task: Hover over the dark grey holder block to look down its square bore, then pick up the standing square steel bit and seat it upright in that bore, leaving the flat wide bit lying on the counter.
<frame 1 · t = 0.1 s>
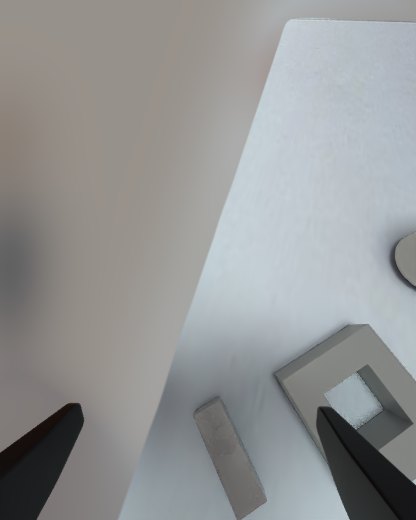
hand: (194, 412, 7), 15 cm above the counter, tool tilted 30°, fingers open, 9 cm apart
bore block: (345, 396, 19), on the counter
flat bit: (227, 444, 19), on the counter
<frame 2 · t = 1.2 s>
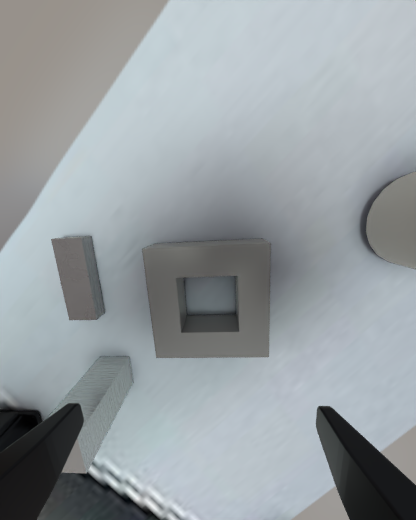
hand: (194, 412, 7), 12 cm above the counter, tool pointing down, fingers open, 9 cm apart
can: (402, 219, 17), on the counter
bore block: (210, 291, 19), on the counter
square bit: (116, 369, 22), on the counter
flat bit: (87, 275, 20), on the counter
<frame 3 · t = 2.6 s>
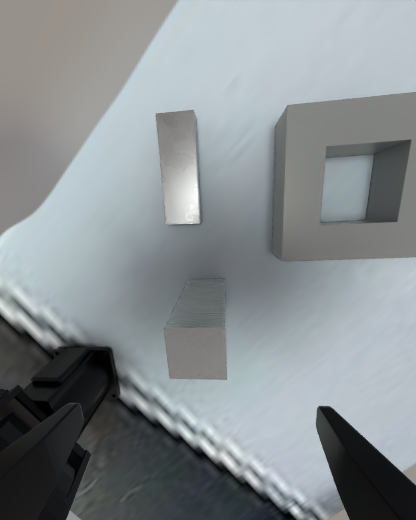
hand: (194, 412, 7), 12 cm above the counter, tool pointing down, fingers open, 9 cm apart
bore block: (336, 190, 16), on the counter
square bit: (207, 295, 19), on the counter
flat bit: (183, 175, 17), on the counter
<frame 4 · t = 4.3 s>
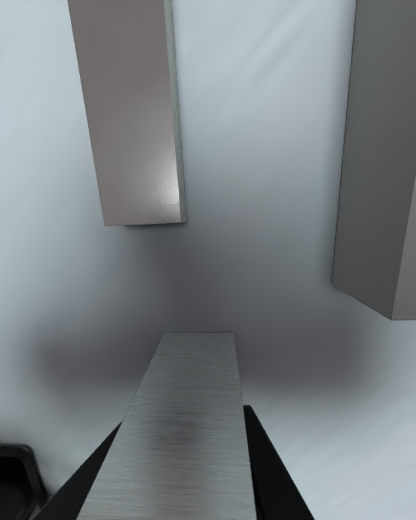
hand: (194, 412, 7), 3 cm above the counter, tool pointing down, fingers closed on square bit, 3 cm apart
square bit: (200, 362, 10), on the counter, touching gripper
flat bit: (147, 121, 8), on the counter
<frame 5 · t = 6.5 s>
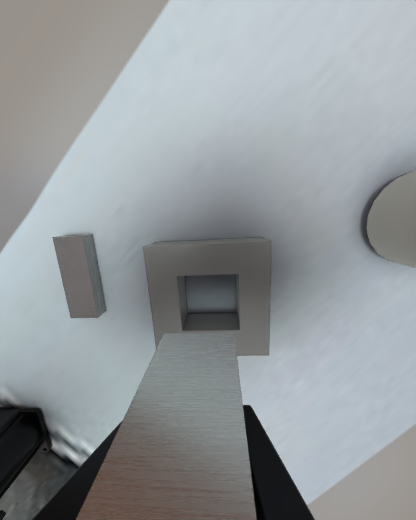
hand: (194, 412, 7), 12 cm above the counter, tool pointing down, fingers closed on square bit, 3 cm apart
can: (403, 218, 17), on the counter
bore block: (210, 290, 19), on the counter
square bit: (200, 363, 10), point 10 cm above the counter, touching gripper
flat bit: (88, 273, 20), on the counter
when the fingers open (4 cm above the counter, at t = 8.5 s): square bit drops 2 cm, resting in bore block.
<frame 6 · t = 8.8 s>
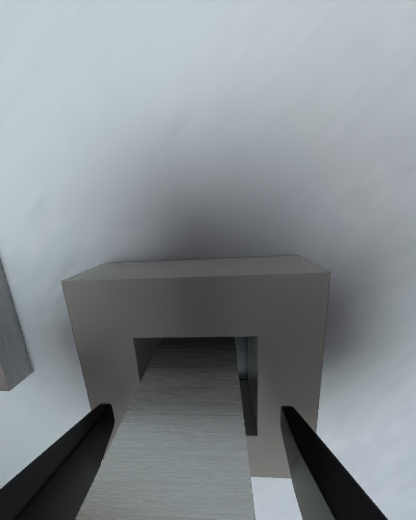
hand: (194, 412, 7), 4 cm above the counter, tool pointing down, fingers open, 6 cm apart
bore block: (203, 343, 11), on the counter
square bit: (203, 343, 11), resting in bore block
flat bit: (1, 311, 12), on the counter
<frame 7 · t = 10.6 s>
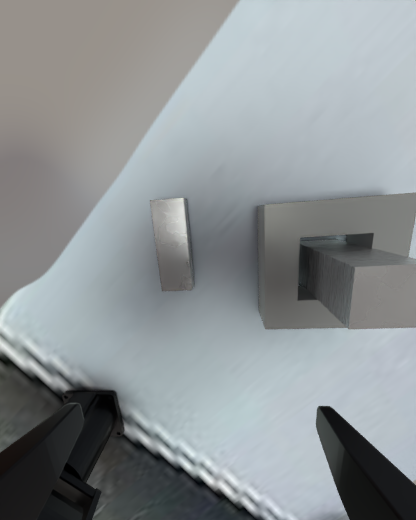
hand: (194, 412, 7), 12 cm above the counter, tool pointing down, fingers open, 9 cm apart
bore block: (315, 259, 17), on the counter
square bit: (314, 259, 17), resting in bore block
flat bit: (176, 244, 18), on the counter
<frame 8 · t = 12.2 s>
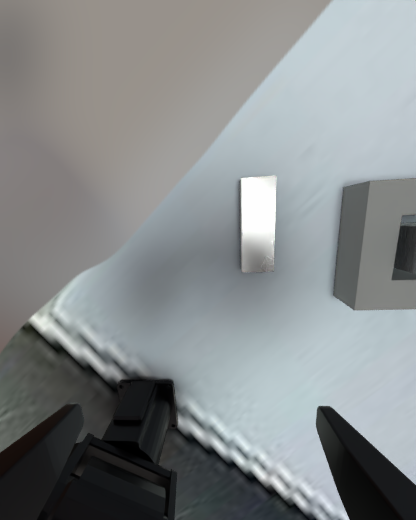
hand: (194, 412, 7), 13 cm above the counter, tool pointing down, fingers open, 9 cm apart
bore block: (396, 242, 17), on the counter
square bit: (395, 242, 17), resting in bore block
flat bit: (254, 225, 18), on the counter
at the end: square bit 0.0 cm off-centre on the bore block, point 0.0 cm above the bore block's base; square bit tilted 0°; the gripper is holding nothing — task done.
